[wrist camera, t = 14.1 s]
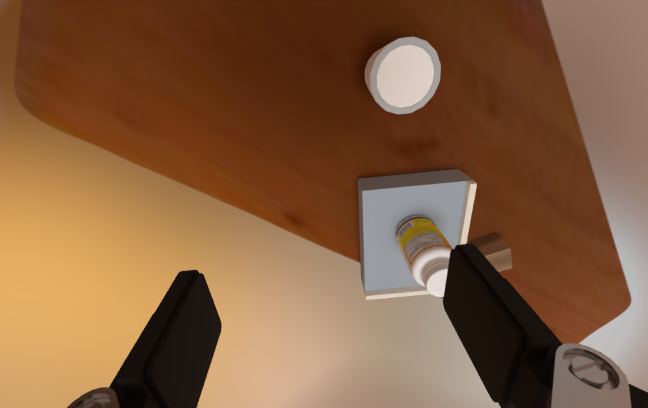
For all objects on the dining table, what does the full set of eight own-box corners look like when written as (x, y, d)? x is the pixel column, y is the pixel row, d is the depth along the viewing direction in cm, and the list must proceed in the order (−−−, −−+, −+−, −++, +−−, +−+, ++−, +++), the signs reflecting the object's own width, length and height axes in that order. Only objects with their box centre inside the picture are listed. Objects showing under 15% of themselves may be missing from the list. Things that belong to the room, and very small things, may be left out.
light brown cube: (469, 240, 46) (482, 256, 42) (494, 232, 45) (510, 247, 42) (472, 259, 47) (485, 275, 44) (497, 251, 47) (512, 267, 43)
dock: (357, 178, 40) (363, 194, 35) (458, 168, 40) (477, 183, 35) (361, 277, 48) (366, 300, 44) (444, 269, 48) (457, 291, 44)
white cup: (366, 111, 36) (378, 123, 29) (352, 51, 32) (362, 51, 26) (421, 93, 35) (445, 102, 29) (412, 30, 32) (437, 24, 25)
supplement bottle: (431, 246, 41) (466, 301, 32) (392, 248, 41) (416, 304, 32) (437, 212, 38) (476, 261, 29) (395, 214, 38) (422, 264, 29)
